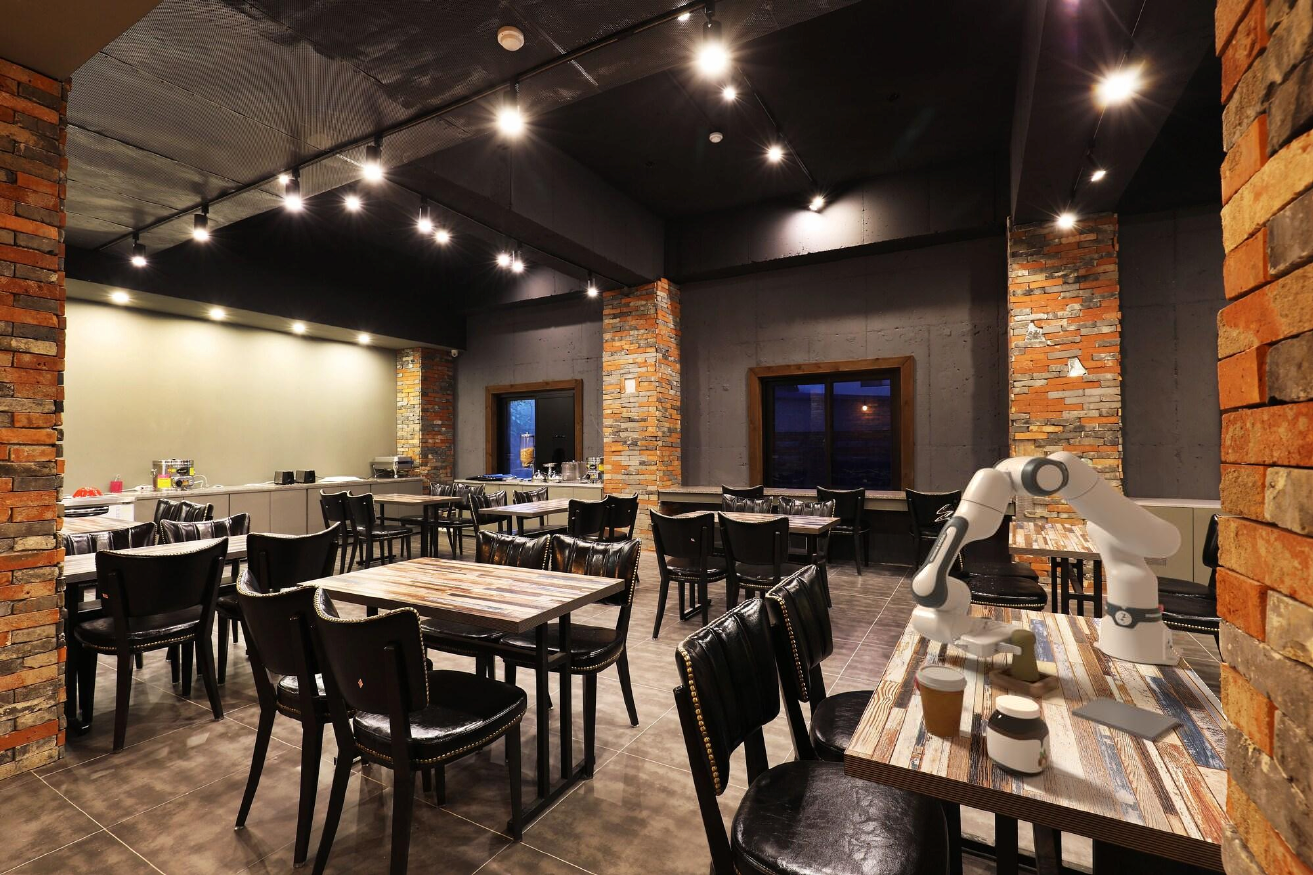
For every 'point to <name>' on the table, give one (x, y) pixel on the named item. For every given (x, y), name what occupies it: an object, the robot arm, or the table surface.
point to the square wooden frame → (1033, 690)
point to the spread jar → (1018, 737)
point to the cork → (1024, 656)
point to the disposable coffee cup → (941, 699)
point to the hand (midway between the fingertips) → (1027, 648)
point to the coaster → (1126, 718)
